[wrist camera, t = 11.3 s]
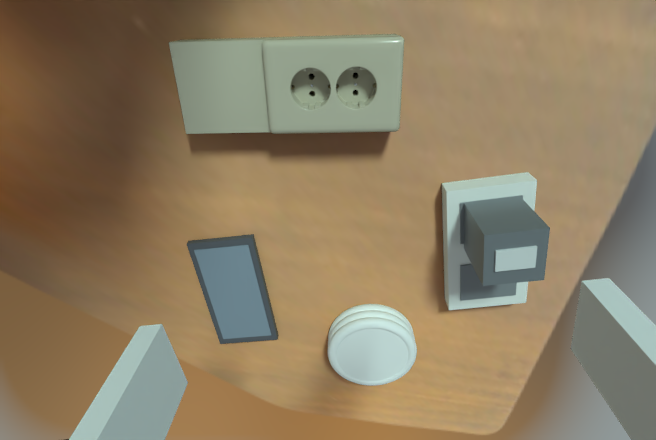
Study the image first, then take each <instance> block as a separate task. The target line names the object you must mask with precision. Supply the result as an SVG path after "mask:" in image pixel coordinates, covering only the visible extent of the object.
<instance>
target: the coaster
mask: <svg viewBox="0 0 656 440" xmlns="http://www.w3.org/2000/svg"><path fill="white" fill-rule="evenodd" d="M416 354H417V347H416V343H415V337H414V334H413V329H412V326H411V324H410V323H409V321H408V320H407V318H406V317H405V316H404V315H403V314H401V313H400V312H399V311H397V310H395V309H393V308H391V307H388V306H385V305H380V304H363V305H358V306H354V307H352V308H349V309H347V310H346V311H344V312H342V313H341V314H340V315H339V316H338V317H337V318H336V319H335V320H334V322H333V323H332V325H331V328H330V330H329V334H328V358H329V361H330V364H331V366H332V367H333V369H334V370H335V371H336V372H337V373H338V374H339V375H340V376H342V377H343V378H345V379H347V380H349V381H351V382H354V383H357V384H361V385H382V384H387V383H390V382H393V381H395V380H397V379H399V378H400V377H402V376H403V375H405V374H406V373H407V372H408V371H409V370H410V369H411V367H412V366H413V364H414V362H415V359H416Z"/></svg>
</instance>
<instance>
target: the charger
mask: <svg viewBox="0 0 656 440" xmlns="http://www.w3.org/2000/svg"><path fill="white" fill-rule="evenodd" d="M549 231H550V228H549V227H548V226H547V224H546V223H545V222H544V221H543V220H542V219H541V218H540V217H539V216H538V215H537V214H536V213H535V212H534V211H533V210H532V209H531V207H530V206H529V205H528V204H527V203H526V202H525V201H524V200H523V199H522V198H521V197H520V196H518V197H510V198H502V199H494V200H485V201H477V202H469V203H464V250H465V252H466V254H467V256H468V258H469V260H470V262H471V264H472V266H473V268H474V270H475V272H476V274H477V276H478V277H479V279H480V281H481V283H482V285H483V286H489V285H499V284H509V283H518V282H528V281H538V280H544V276H545V267H546V258H547V249H548V240H549Z"/></svg>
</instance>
